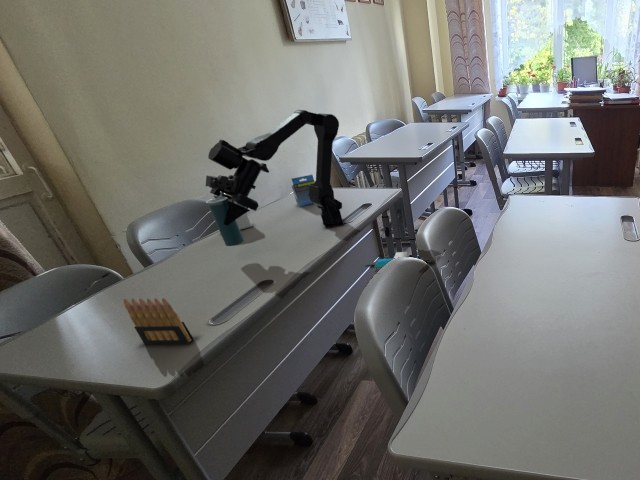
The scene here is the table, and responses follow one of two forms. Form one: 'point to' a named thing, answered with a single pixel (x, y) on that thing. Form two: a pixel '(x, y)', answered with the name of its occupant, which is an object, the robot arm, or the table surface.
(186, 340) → the ammunition clip
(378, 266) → the phone stand
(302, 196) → the label tape box
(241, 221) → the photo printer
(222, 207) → the tin
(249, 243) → the table surface
